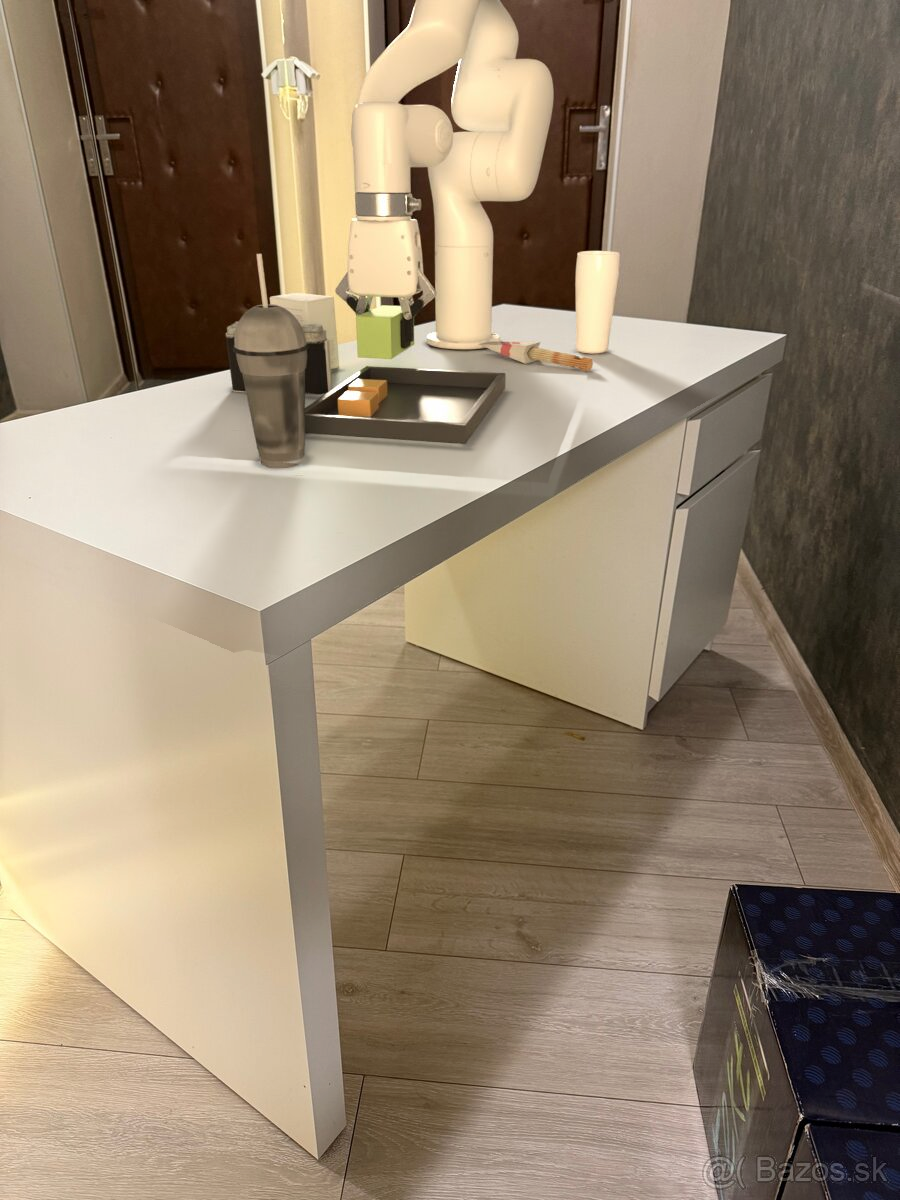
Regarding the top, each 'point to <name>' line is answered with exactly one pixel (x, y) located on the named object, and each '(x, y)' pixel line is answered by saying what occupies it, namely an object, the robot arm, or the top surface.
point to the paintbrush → (537, 354)
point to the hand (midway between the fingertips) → (386, 344)
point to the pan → (412, 405)
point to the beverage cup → (273, 378)
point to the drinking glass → (595, 299)
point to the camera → (316, 366)
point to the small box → (313, 315)
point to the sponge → (379, 333)
